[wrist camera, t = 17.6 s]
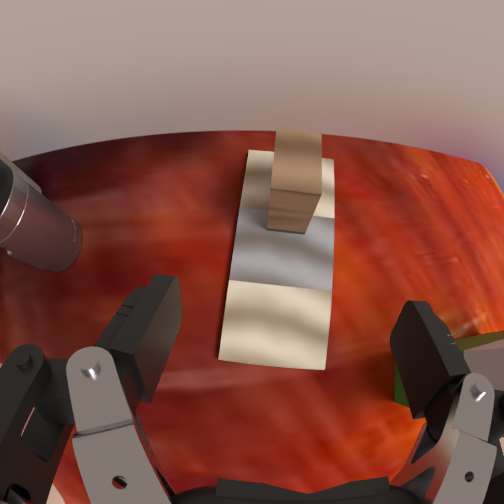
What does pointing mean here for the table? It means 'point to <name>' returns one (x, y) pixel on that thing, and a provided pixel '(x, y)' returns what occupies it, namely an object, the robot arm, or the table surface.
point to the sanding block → (295, 180)
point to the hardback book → (472, 361)
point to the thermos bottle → (19, 172)
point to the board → (279, 279)
